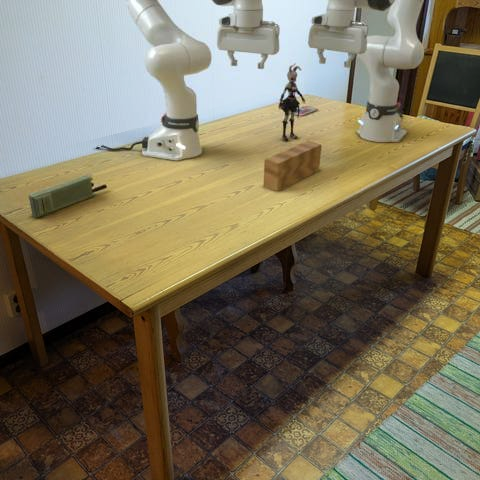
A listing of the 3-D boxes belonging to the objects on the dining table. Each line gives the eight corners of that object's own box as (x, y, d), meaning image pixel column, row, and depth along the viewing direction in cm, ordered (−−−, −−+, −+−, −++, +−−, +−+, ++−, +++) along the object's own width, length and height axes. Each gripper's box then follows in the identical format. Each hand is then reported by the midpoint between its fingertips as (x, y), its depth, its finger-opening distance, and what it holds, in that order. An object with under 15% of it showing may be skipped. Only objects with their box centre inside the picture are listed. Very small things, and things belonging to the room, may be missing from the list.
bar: (277, 191, 160) (278, 163, 156) (263, 186, 164) (264, 158, 159) (319, 170, 177) (321, 144, 172) (305, 166, 180) (308, 140, 175)
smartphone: (318, 108, 245) (301, 114, 235) (318, 110, 245) (301, 116, 235) (305, 105, 249) (288, 111, 238) (305, 107, 249) (288, 113, 239)
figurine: (281, 144, 200) (285, 65, 186) (270, 140, 204) (273, 62, 189) (305, 136, 209) (311, 60, 194) (294, 133, 213) (299, 58, 198)
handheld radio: (30, 215, 144) (102, 188, 161) (37, 219, 142) (109, 191, 159) (26, 193, 140) (100, 168, 157) (33, 197, 138) (107, 171, 155)
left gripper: (283, 20, 152) (281, 68, 158) (223, 16, 160) (224, 62, 166) (275, 23, 147) (273, 72, 153) (214, 18, 155) (214, 65, 161)
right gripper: (374, 22, 156) (367, 68, 163) (318, 16, 168) (314, 60, 174) (364, 23, 152) (357, 70, 159) (307, 17, 164) (303, 62, 170)
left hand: (247, 67), depth 160 cm, fingers open, 8 cm apart
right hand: (334, 65), depth 167 cm, fingers open, 8 cm apart
